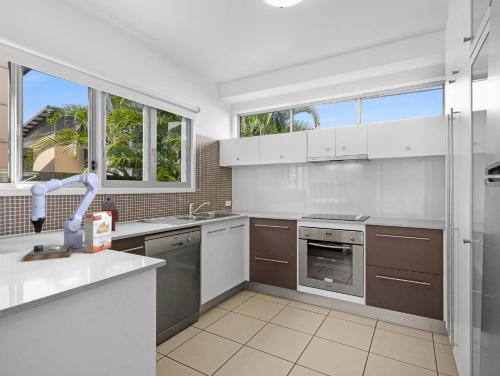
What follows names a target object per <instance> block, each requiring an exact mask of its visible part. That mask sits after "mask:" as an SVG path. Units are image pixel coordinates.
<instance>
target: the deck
mask: <svg viewBox="0 0 500 376" xmlns="http://www.w3.org/2000/svg"><path fill="white" fill-rule="evenodd" d="M70 247H71V245H64V244H63V245H62V244H61V245H50V246H44V244H38V245H34V246H33V249H32V250H33V251H32V250H30V251H29V252H30V253H29V252H28V253H29V256H33V255H43V254H54V253H64V252H67V251H68V250H69V248H70Z"/></svg>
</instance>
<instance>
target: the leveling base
mask: <svg viewBox="0 0 500 376" xmlns="http://www.w3.org/2000/svg"><path fill="white" fill-rule="evenodd" d="M33 250H34V249H32V250H31V251H33ZM74 250H75V248H74V245H72V246H71V247H70V248H69V250H68V251H67V252H64V253H54V254H43V255H33V256H29V253H30V252H31V251H29V252H28V253H27V254H26V255H24V256H23V262H30V261H31V262H33V261H43V260H54V259H55V260H56V259H65V258H70V257H71V256H72V254H73V252H74Z"/></svg>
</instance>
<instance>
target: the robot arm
mask: <svg viewBox="0 0 500 376" xmlns="http://www.w3.org/2000/svg"><path fill="white" fill-rule="evenodd" d="M99 181H100V180H99V177H98V175H97V174H96V173H94V172H90V173H89V172H88V173H87V172H86V173H81V174H75V175H72V176H69V177H67V178H66V177H65V178H63V179H57V178H55V179H54V178H51V179H50V180H48V181H41V182H40V183H36V184H33V185H32V186H31V187H30V189H29V191H30V193H31V198H30V199H31V200H30V201H31V207H30V209H31V210H30V211H31V212H30V213H31V214H29V215H28V216H27V217H28V218H31V220H30V223H31V224H32V226H33V229H34V232H35V234H40V233H42V229H43V226H44V223H45V221H46V220H47V219H46V218H45V217H46V193H51V192H54V191H57V190H61V189H62V187H63V186H66V185H70V184H72V183H73V184H74V183H77V182H78V183H82V184H83V185H84V186H85V189H86V191H85V193H84V195H83V196H82V198H81V200H80V201H79V202H78V204H77V206H76V208H75V210H74V211H73V212H72V214H71V215H70V216H68V218H67V219H66V220H65V221H63V223H62V228H63V229H64V231H63V245H71V246H72V245H74V249H82V248H84V232H83V231H80V229H81V224H82V222H83V217H84V216H85V213H86V211H87V210H88V208H89V206H90V205H91V204H92V202H93V200H94V199H95V197H96V195H97V194H98V192H99Z"/></svg>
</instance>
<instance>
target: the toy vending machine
mask: <svg viewBox="0 0 500 376" xmlns="http://www.w3.org/2000/svg"><path fill="white" fill-rule="evenodd" d="M102 211H110V212H112V223H111V231H115V232H116V223H117V222H119V210H118V208H117V207H116V201H115V200H113V199H112V200H111V194H106V200H102V201H101V212H102Z"/></svg>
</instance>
